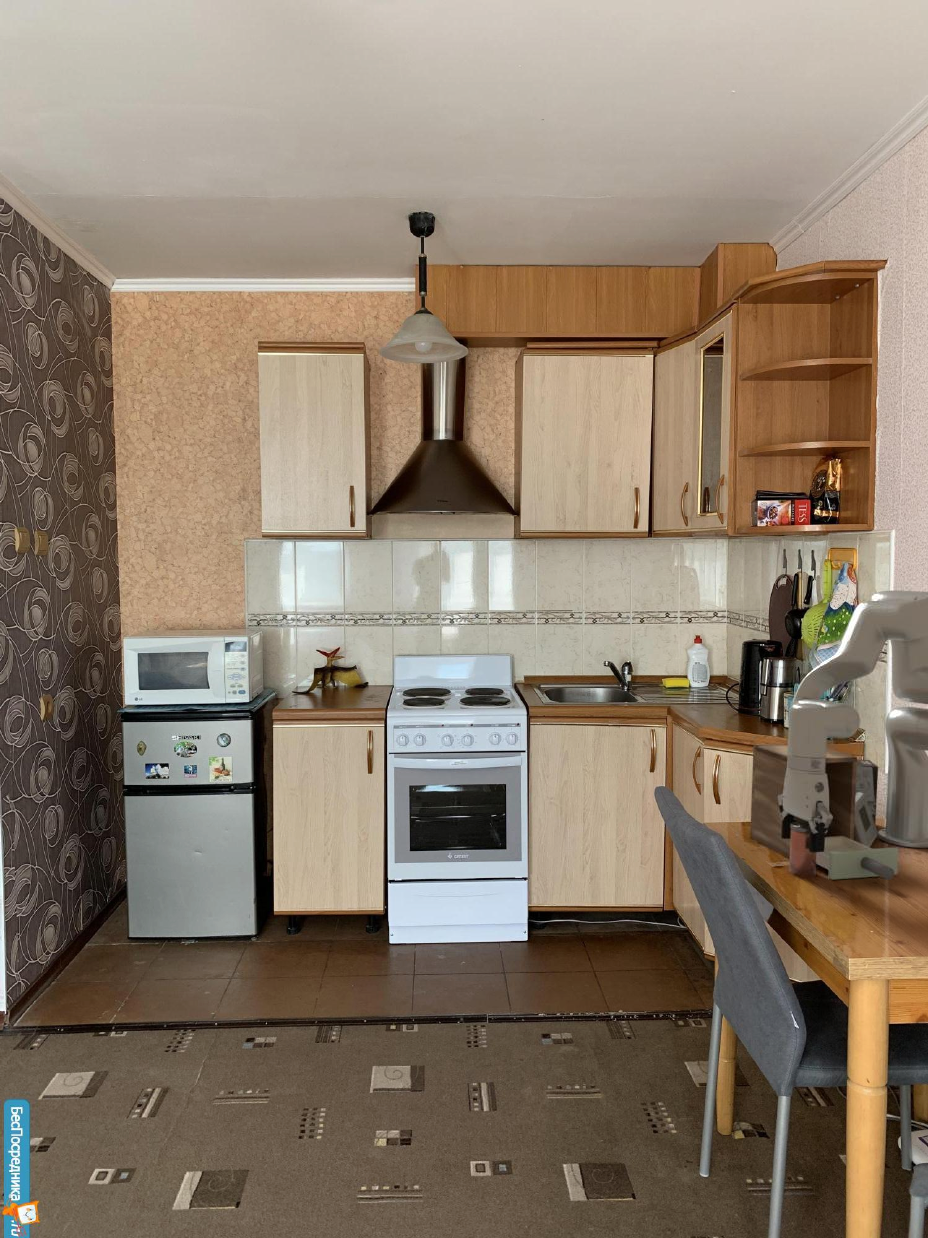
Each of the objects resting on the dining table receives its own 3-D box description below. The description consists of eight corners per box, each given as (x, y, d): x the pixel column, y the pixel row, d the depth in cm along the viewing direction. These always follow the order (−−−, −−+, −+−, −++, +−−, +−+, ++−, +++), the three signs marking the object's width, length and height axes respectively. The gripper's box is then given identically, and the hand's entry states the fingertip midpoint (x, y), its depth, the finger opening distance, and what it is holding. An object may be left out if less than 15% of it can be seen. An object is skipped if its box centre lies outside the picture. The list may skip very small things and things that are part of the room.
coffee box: (876, 832, 224) (879, 766, 224) (848, 830, 226) (850, 765, 225) (867, 822, 233) (870, 759, 233) (840, 820, 235) (843, 757, 234)
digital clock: (865, 854, 206) (867, 807, 205) (825, 846, 212) (827, 800, 211) (890, 840, 218) (892, 796, 217) (851, 832, 224) (853, 789, 223)
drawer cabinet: (809, 834, 222) (813, 743, 220) (853, 854, 206) (857, 757, 205) (750, 838, 218) (753, 745, 217) (789, 858, 202) (793, 759, 201)
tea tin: (805, 868, 196) (807, 821, 196) (821, 876, 191) (823, 828, 190) (783, 869, 195) (785, 822, 194) (798, 878, 190) (800, 829, 189)
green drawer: (847, 851, 208) (848, 827, 207) (921, 886, 185) (922, 859, 185) (786, 855, 204) (787, 831, 204) (854, 891, 182) (855, 864, 181)
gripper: (848, 772, 184) (844, 856, 185) (797, 755, 201) (793, 833, 202) (815, 772, 182) (811, 858, 183) (766, 755, 199) (763, 834, 200)
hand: (802, 845), depth 192 cm, fingers open, 9 cm apart
